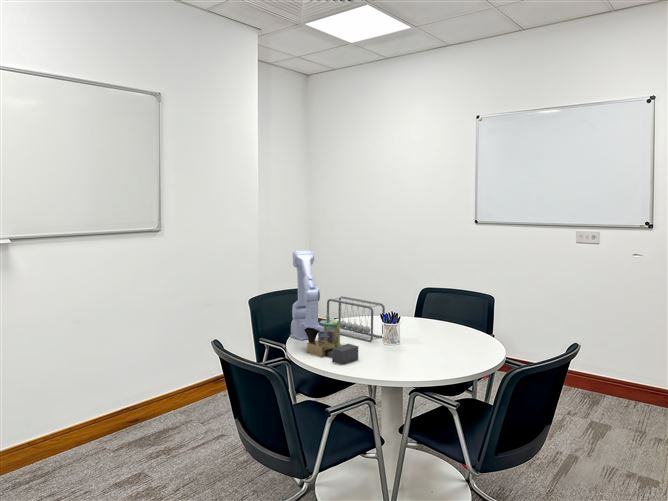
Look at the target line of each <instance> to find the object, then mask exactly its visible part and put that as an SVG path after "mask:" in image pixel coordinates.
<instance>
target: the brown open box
mask: <svg viewBox="0 0 668 501" xmlns="http://www.w3.org/2000/svg"><path fill="white" fill-rule="evenodd" d="M332 348H335V344H334V343H330V342H327V341H324V340H320V339H319V340H318V339H315V341H312V342H309V341H308V342H306V353H308V354H309V355H314V356H317V357H320V358H324V357H326V356H325V351H328V350H331V351H332Z"/></svg>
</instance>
